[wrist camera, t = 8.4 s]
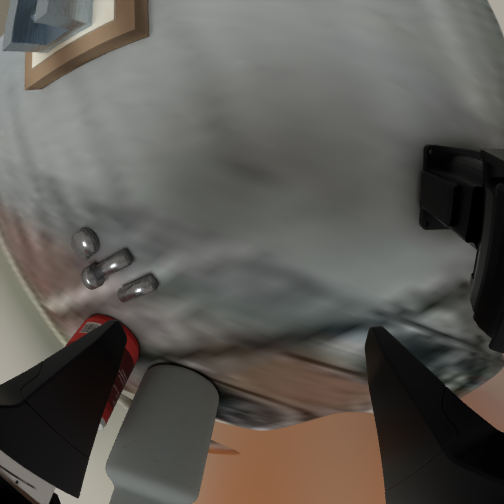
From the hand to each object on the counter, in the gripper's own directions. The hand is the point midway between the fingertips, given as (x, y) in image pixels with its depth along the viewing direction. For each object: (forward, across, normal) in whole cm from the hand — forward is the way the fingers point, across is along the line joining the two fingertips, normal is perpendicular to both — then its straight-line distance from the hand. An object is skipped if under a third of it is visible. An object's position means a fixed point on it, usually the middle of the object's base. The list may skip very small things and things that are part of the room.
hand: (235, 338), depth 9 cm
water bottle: (+12, +11, +21) cm, 27 cm away
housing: (+9, +13, -20) cm, 26 cm away
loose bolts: (+12, +14, +4) cm, 18 cm away
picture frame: (+12, +13, -20) cm, 27 cm away
